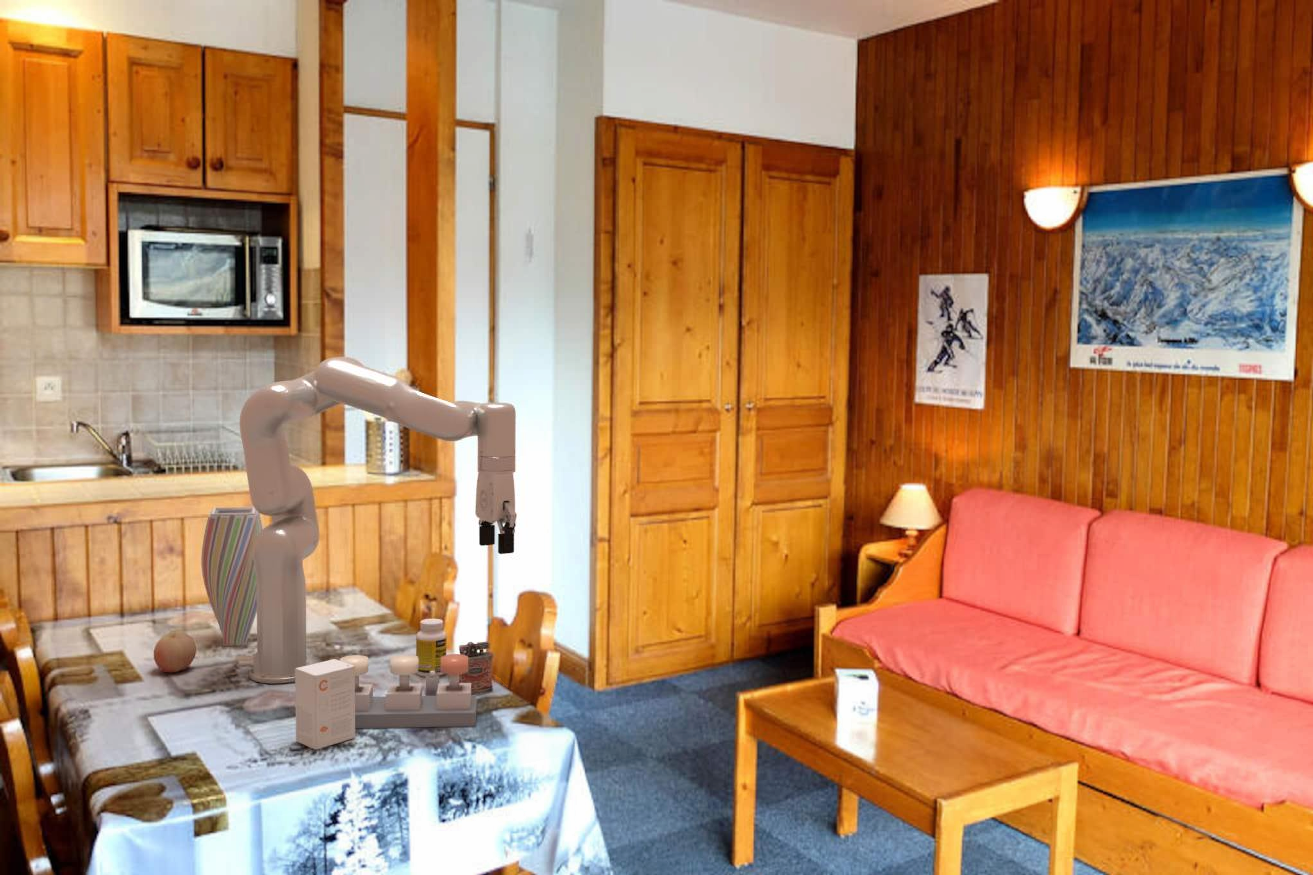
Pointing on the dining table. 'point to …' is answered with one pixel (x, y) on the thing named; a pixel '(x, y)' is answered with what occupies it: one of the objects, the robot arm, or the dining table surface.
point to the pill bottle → (430, 647)
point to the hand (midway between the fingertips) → (496, 549)
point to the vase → (231, 570)
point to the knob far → (454, 667)
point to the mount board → (415, 707)
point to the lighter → (477, 667)
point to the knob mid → (404, 668)
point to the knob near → (357, 665)
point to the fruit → (174, 651)
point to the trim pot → (431, 684)
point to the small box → (325, 703)
